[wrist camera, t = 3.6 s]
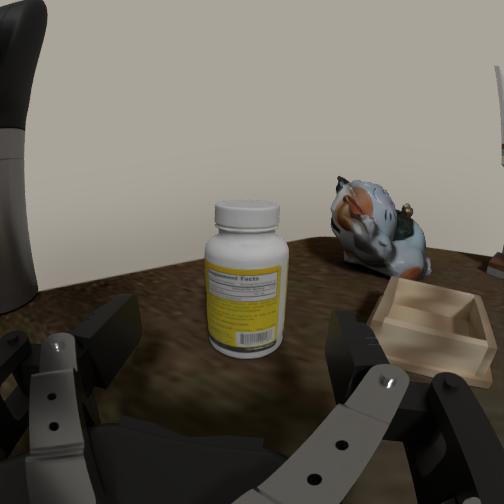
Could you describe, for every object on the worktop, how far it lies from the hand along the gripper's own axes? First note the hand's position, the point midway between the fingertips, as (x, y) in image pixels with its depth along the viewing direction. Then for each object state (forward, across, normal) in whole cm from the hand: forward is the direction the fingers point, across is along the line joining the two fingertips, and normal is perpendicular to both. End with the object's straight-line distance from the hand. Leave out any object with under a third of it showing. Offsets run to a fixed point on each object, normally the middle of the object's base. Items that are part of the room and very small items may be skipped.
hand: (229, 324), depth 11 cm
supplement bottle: (+8, 0, +6) cm, 10 cm away
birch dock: (+8, -15, +6) cm, 18 cm away
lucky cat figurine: (+25, -16, +6) cm, 31 cm away
